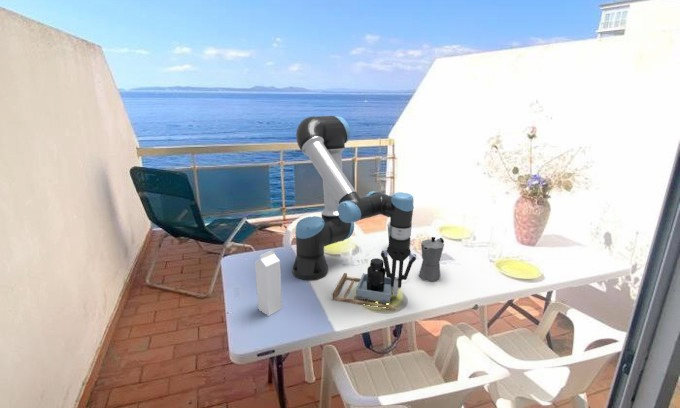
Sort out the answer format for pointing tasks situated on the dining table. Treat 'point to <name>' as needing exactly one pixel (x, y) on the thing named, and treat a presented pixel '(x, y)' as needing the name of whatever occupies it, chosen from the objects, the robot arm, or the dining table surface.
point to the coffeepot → (431, 259)
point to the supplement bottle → (376, 276)
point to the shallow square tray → (374, 295)
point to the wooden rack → (355, 301)
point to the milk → (268, 283)
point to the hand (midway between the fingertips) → (395, 294)
